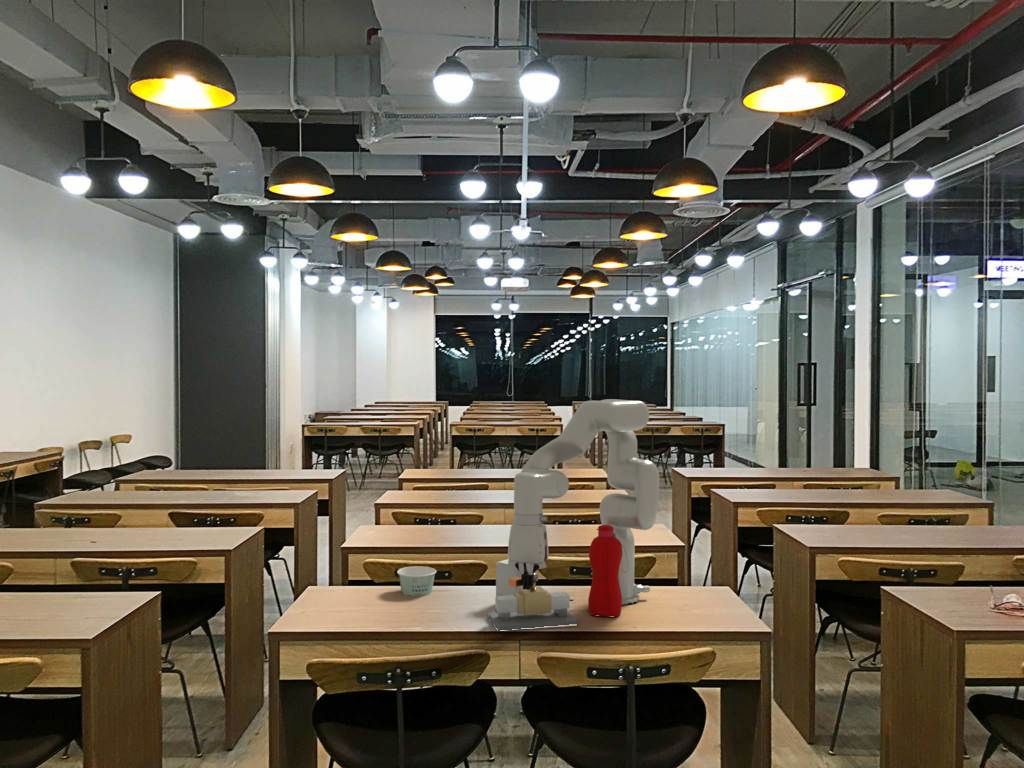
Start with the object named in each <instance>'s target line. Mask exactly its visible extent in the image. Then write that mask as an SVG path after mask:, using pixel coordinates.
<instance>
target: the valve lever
mask: <svg viewBox="0 0 1024 768" xmlns="http://www.w3.org/2000/svg"><path fill="white" fill-rule="evenodd" d="M538 580H539V573H538V572H535V573H534V581H536V582H538ZM509 586H513V587H518V586H522V585H521V577H513V578H510V579H509Z"/></svg>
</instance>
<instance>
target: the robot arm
mask: <svg viewBox="0 0 1024 768" xmlns="http://www.w3.org/2000/svg"><path fill="white" fill-rule="evenodd" d="M649 419H650V411H649V408H648V406H647V404H646V403H644V402H643V401H641V400H630V399H629V400H628V399H617V398H616V399H615V398H613V399H612V398H609V399H607V398H606V399H601V400H586V401H584V402H582V403H581V404H580V405H579V406H578V407H577V409H576V411H575V412H574V413H573V414H572V416H571V418H570V420H568V422H567V424H566V426H565V427H564V428H563V431H561V433H560V434H559V435H558V436H557V437H556V438H554V439H552V440H550V441H549V442H547V443H546V444H545V445H543V446H541V447H540V448H539V449H537V450H536V451H535V452H534V453H533V454H532V455H531V456H530V457H529V458H528V460H527V462H526V463H525V464H524V466H523V468H522V469H521V471H520V472H519V473H516V474H515V476H514V477H513V478H514V479H513V522H512V524H511V526H510V531H509V538H508V544H507V545H508V548H507V559H509V560H508V564H509V565H511V566H515V567H516V568H517V569H518V570H519V571H520V574H521V585H523V589H524V590H525V589H527V590H529V589H531V588H532V586H533V585H534V573H537V571H538V570H543V569H546V568H548V566H549V565H548V559H549V541H548V532H547V526H546V524H544V523H545V522H546V523H547V522H548V519H549V518H548V516H545V515H544V513H543V500H544V499H554V500H555V499H559V498H563V496H565V495H566V493H568V490H569V488H570V481H569V478H568V476H567V475H566V474H564V472H562V471H560V470H554V469H551V468H553V467H554V466H557V465H558V464H560V463H563V462H567V461H571V460H574V459H576V458H580V457H581V456H583V455H584V454H585V453H586V452H587V450H588V449H589V447H590V446H591V444H592V443H593V441H594V439H595V438H596V437H597V435H598V433H599V432H605V434H606V435H607V440H608V452H607V453H608V454H607V455H608V456H607V467H606V468H607V470H606V474H607V475H606V477H607V483H608V485H609V486H610V487H612V488H614V489H617V490H623V491H631V492H635V495H631V494H625V493H616V492H615V493H609V494H607V495H605V496H604V497H603V498H602V499H601V501H600V504H599V518H600V522H601V525H609V526H612V527H613V528H614V533H615V534H616V535H615V536H616V538H617V539H618V540H619V541H620V543H621V544H622V545H623V546H622V558H621V562H620V567H619V573H618V580H619V585H620V591H621V596H622V605H629V604H628V603H632V604H634V603H633V602H636V603H637V602H639V601H638V600H640V594H641V593H649V592H650V590H651V589H650V586H649V585H642V584H636V583H635V557H636V556H635V554H636V553H635V552H636V551H635V547H636V545H635V541H636V540H635V537H634V534H633V531H632V529H633V530H640V531H647V530H650V529H652V528H653V527H654V525H656V520H657V518H658V507H659V492H660V472H659V468H658V466H657V465H656V464H655V463H654V462H653V461H650V460H649V459H640V458H638V439H637V436H636V434H635V432H634V431H641V430H642V429H644V428H645V427H646V425H647V424H648V422H649ZM624 548H625V550H624ZM625 551H626V553H625ZM626 555H627V557H626ZM627 560H628V562H627ZM526 563H530V564H529V570H528V571H527V564H526ZM622 570H623V571H624V572H626V573H624V572H623V571H622ZM627 570H628V571H627Z"/></svg>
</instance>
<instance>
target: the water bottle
mask: <svg viewBox="0 0 1024 768" xmlns="http://www.w3.org/2000/svg"><path fill="white" fill-rule="evenodd" d="M596 530H597V531H598V533H597V535H598V536H596V537H593V540H592V541H591V543H590V545H589V549H588V558H589V563H590V568H591V572H592V573H591V574H592V575H591V576H592V581H591V585H590V589H589V593H588V594H589V595H588V598H587V601H588V603H587V609H588V613H589V614H590V615H591V614H592V615H591V616H593V615H599V616H598V617H601V616H616V617H618V616H620V615H621V612H622V607H623V604H622V596H621V591H620V585H619V580H618V573H619V567H620V562H621V558H622V546H623V545H622V544H621V543H620V541H619V540H618V539H617V538H616V536H615V535H616V534H615V533H614V528H613V527H612V526H609V525H602V524H600V525H598V528H596ZM624 550H625V548H624ZM625 553H626V551H625ZM626 557H627V555H626ZM627 562H628V560H627ZM622 571H623V570H622ZM627 571H628V570H627ZM623 572H624V571H623ZM624 573H626V572H624Z"/></svg>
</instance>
